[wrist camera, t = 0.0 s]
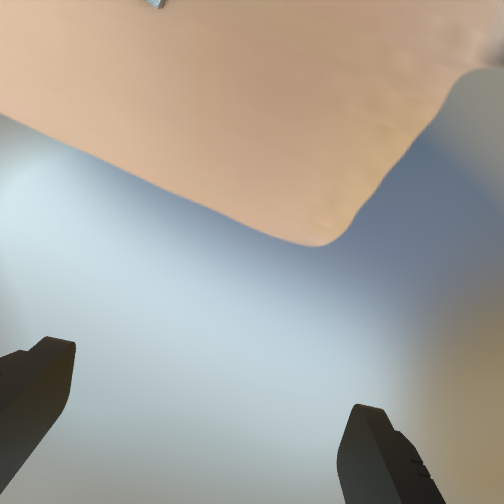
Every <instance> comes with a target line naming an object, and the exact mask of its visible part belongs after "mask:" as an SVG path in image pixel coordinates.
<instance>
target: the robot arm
mask: <svg viewBox="0 0 504 504" xmlns="http://www.w3.org/2000/svg"><path fill="white" fill-rule="evenodd" d="M75 352H76V344H75V342H71V341H67V340H63V339H58V338H53V337H48V336H47V337H44V338H43V339H42V340H41V341H39V342H38V343H37V344H36V345H35V346H33V348H31V349H30V350H29V351H23V350H18V351H16V352H13V353H11V354H8V355H6V356H3V357H1V358H0V494H1V493H2V492H3V490H4V489H5V488H6V486H7V485H8V484H9V482H10V481H11V480H12V478H13V477H14V476H15V474H16V473H17V472H18V470H19V469H20V468H21V466H22V465H23V464H24V462H25V461H26V460H27V458H28V457H29V456H30V454H31V453H32V452H33V450H34V449H35V448H36V447H37V445H38V444H39V442H40V441H41V440H42V438H43V437H44V436H45V435H46V433H47V432H48V431H49V429H50V428H51V427H52V425H53V424H54V423H55V421H56V420H57V419H58V417H59V416H60V415H61V413H62V411H63V409H64V407H65V405H66V403H67V400H68V397H69V393H70V387H71V380H72V373H73V366H74V359H75ZM337 472H338V476H339V480H340V484H341V488H342V491H343V495H344V499H345V503H346V504H446V503H445V501H444V499H443V497H442V495H441V493H440V492H439V490H438V488H437V486H436V485H435V483H434V481H433V479H431V478H430V476H431V475H430V474H429V472H428V470H427V468H426V466H425V465H423V461H422V459H421V457H420V456H419V454H418V452H417V450H416V448H415V447H414V445H413V444H411V442H410V441H409V440H408V439H407V438H406V437H405V436H404V435H403V434H402V433H401V432H400V431H396V430H394V428H393V426H392V424H391V422H390V420H389V419H388V417H387V415H386V413H385V411H384V410H383V409H380V408H375V407H371V406H366V405H362V404H355V405H354V407H353V408H352V411H351V413H350V416H349V419H348V422H347V425H346V428H345V431H344V434H343V437H342V440H341V443H340V446H339V449H338V454H337Z"/></svg>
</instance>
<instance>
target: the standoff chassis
mask: <svg viewBox="0 0 504 504" xmlns="http://www.w3.org/2000/svg"><path fill="white" fill-rule="evenodd" d="M146 1H147V2H148V3H150V4H151V5H153V6H154V7H156V8H157V9H158V8H162V7H163V5H164V2H165V0H146Z"/></svg>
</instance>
